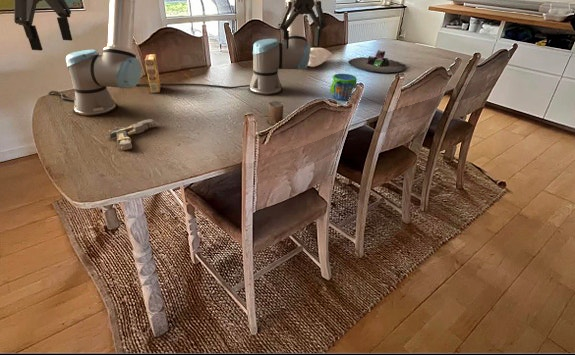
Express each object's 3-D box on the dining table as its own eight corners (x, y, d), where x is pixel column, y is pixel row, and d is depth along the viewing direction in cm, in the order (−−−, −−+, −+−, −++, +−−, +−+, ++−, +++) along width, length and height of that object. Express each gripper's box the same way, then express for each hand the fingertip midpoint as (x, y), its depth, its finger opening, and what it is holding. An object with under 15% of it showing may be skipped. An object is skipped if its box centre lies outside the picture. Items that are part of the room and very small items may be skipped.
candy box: (159, 92, 169) (154, 59, 161) (150, 93, 168) (144, 59, 160) (161, 86, 176) (156, 54, 168) (151, 86, 175) (146, 54, 167)
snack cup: (347, 91, 179) (350, 71, 174) (362, 98, 172) (365, 77, 167) (322, 97, 172) (324, 75, 166) (336, 104, 165) (339, 82, 159)
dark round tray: (418, 67, 219) (420, 52, 215) (377, 75, 202) (379, 59, 197) (375, 58, 244) (377, 43, 239) (336, 64, 226) (337, 49, 222)
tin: (281, 125, 144) (282, 107, 140) (267, 124, 144) (267, 106, 140) (283, 119, 149) (284, 101, 145) (269, 118, 149) (269, 100, 145)
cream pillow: (271, 61, 216) (273, 46, 210) (312, 52, 236) (315, 38, 230) (297, 77, 204) (300, 61, 198) (339, 66, 224) (342, 52, 218)
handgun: (169, 128, 131) (147, 116, 139) (122, 144, 120) (101, 130, 128) (170, 135, 133) (148, 122, 141) (123, 152, 121) (102, 137, 129)
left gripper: (6, -37, 86) (35, 55, 97) (71, -39, 107) (89, 37, 118) (-24, -38, 86) (9, 53, 98) (47, -40, 107) (67, 35, 119)
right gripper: (277, -13, 124) (276, 51, 136) (339, -13, 134) (333, 46, 145) (269, -15, 130) (268, 46, 141) (328, -15, 140) (323, 43, 151)
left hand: (53, 44), depth 108 cm, fingers open, 13 cm apart
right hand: (301, 47), depth 143 cm, fingers open, 13 cm apart
